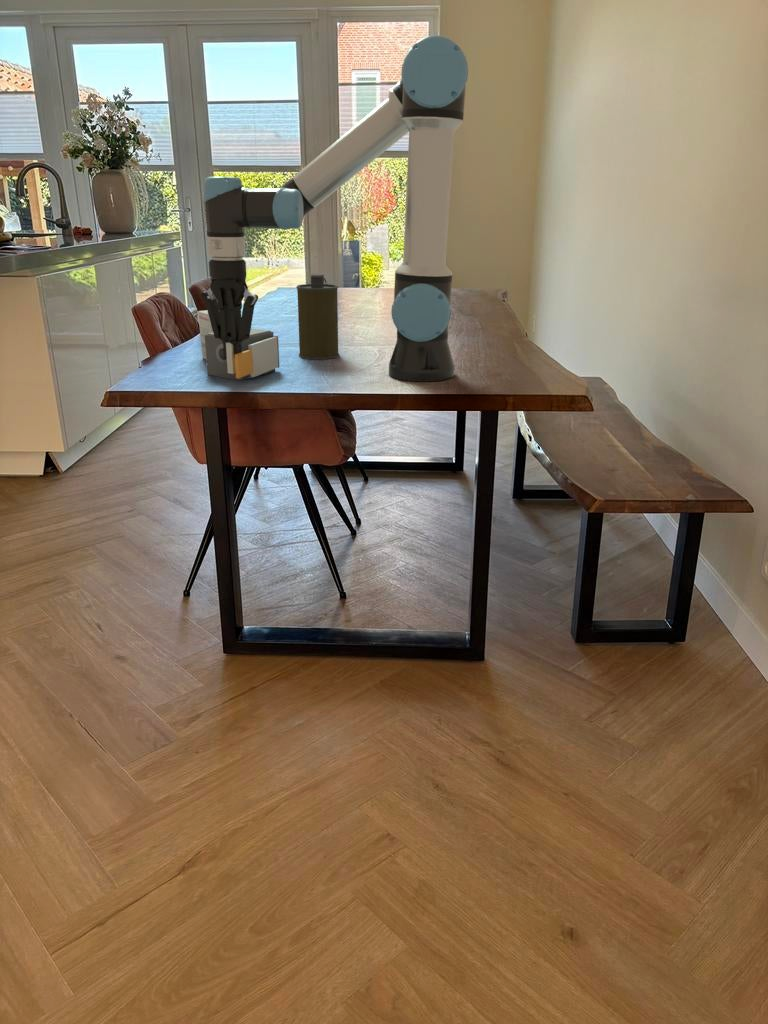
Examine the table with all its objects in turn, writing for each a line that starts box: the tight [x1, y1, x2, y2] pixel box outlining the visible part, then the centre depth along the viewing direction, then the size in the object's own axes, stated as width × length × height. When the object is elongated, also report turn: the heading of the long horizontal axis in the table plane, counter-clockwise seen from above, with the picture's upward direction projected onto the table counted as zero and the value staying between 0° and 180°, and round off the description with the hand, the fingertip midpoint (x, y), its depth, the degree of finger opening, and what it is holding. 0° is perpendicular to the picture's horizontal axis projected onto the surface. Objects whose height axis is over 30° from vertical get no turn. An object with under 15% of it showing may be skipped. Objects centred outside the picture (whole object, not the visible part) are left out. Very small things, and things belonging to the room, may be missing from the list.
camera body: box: [205, 327, 276, 381], centre depth 175 cm, size 10×13×10 cm
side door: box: [235, 335, 280, 378], centre depth 170 cm, size 1×18×7 cm, turn 160°
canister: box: [296, 274, 340, 361], centre depth 193 cm, size 11×10×20 cm
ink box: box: [197, 309, 220, 361], centre depth 188 cm, size 9×5×12 cm, turn 33°
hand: (234, 372), depth 166 cm, fingers closed
